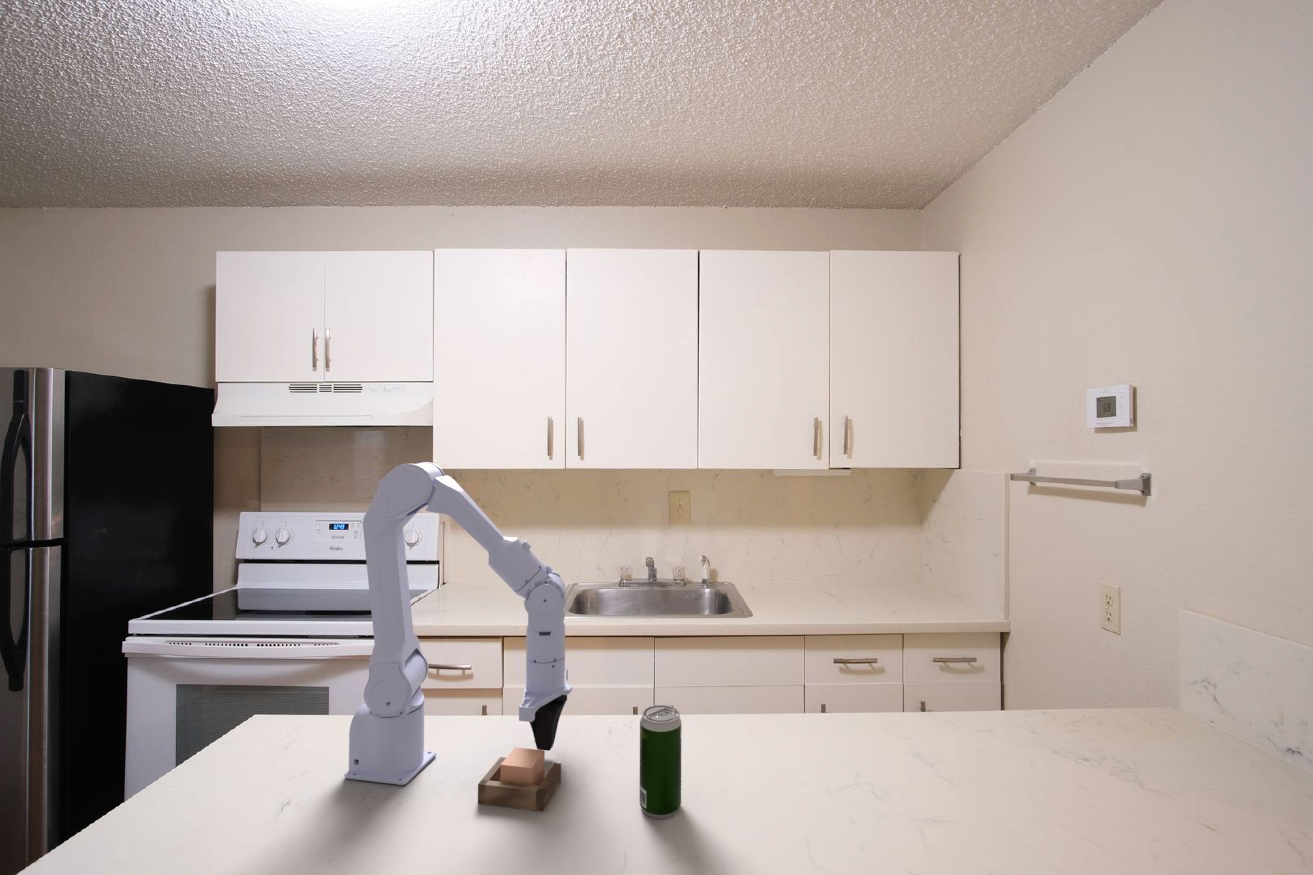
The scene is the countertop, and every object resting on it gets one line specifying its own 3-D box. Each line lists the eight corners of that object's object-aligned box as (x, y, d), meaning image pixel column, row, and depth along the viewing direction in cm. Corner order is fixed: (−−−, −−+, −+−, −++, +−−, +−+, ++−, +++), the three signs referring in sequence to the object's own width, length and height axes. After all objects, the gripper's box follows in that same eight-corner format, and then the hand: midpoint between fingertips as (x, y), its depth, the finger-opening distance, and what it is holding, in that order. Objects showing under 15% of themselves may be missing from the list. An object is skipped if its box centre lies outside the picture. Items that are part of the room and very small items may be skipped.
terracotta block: (500, 798, 74) (500, 764, 74) (514, 778, 79) (515, 747, 79) (531, 801, 74) (531, 768, 74) (544, 782, 78) (544, 750, 78)
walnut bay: (477, 803, 73) (478, 783, 73) (500, 774, 79) (500, 756, 79) (543, 811, 71) (543, 791, 72) (560, 781, 78) (561, 763, 78)
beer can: (654, 826, 69) (654, 727, 69) (631, 803, 73) (632, 710, 73) (689, 811, 72) (689, 716, 72) (665, 789, 76) (666, 700, 76)
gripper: (553, 677, 76) (552, 778, 76) (585, 641, 91) (585, 726, 90) (505, 673, 78) (504, 772, 77) (544, 638, 92) (544, 722, 92)
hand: (545, 747), depth 84 cm, fingers closed
